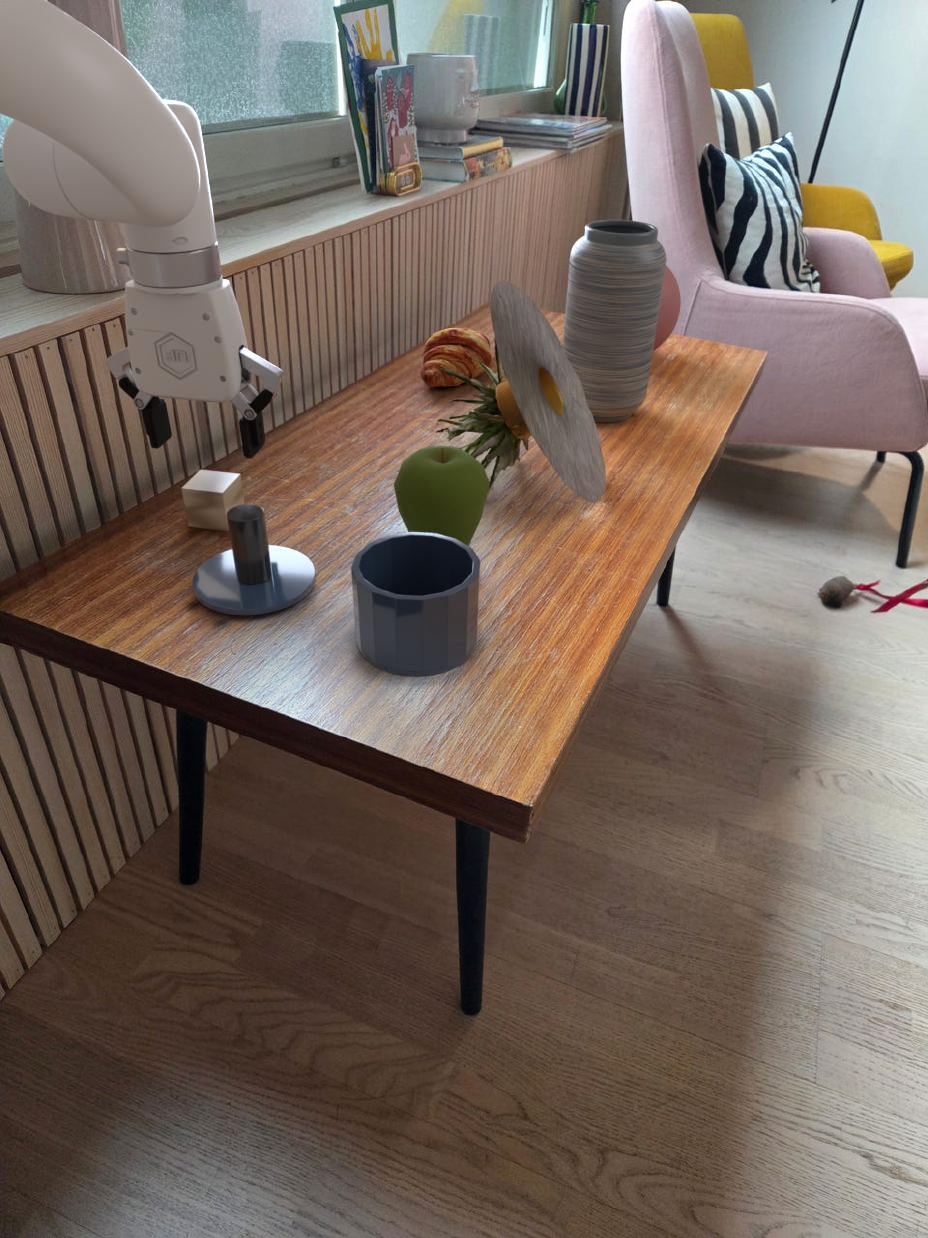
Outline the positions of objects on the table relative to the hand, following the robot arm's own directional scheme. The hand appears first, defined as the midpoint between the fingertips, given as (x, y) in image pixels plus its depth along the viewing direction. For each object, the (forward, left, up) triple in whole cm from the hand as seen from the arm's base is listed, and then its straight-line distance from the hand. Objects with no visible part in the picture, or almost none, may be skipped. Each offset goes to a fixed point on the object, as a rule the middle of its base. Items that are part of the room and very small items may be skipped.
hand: (207, 447), depth 84 cm
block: (0, 0, -8) cm, 8 cm away
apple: (+20, -14, -8) cm, 26 cm away
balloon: (+64, +33, -8) cm, 72 cm away
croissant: (+38, +35, -8) cm, 52 cm away
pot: (+14, -26, -8) cm, 31 cm away
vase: (+52, +16, -8) cm, 55 cm away
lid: (+2, -14, -7) cm, 16 cm away
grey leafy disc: (+34, 0, -8) cm, 35 cm away
